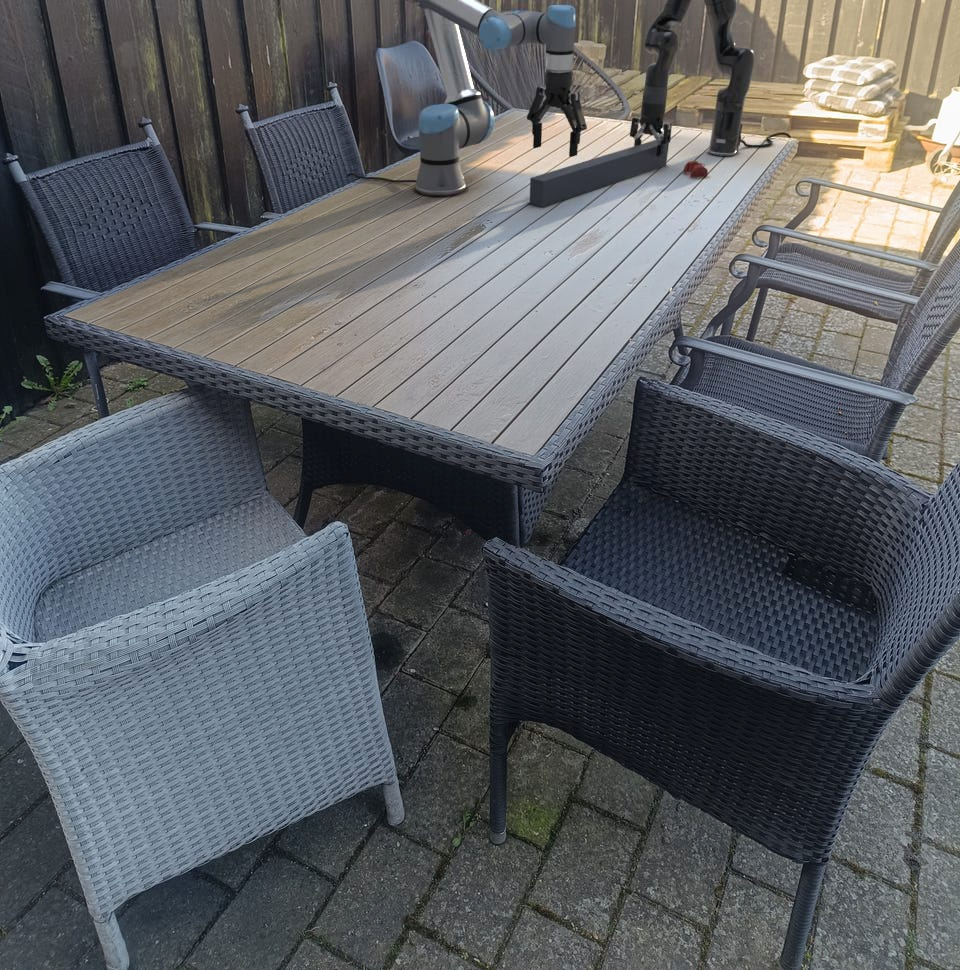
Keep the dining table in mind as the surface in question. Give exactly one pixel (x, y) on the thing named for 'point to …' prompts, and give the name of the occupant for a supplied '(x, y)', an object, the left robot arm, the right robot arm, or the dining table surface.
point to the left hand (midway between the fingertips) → (554, 151)
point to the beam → (595, 173)
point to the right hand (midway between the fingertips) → (647, 154)
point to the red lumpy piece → (696, 169)
